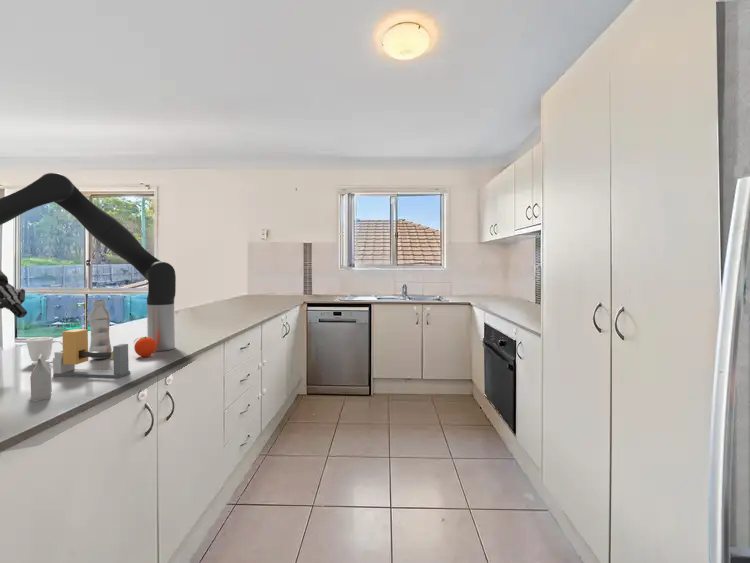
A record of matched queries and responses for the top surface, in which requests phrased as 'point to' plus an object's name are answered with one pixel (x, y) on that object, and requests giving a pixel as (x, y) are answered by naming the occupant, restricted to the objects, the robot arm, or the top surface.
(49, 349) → the cup
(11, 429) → the top surface
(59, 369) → the gray horizontal rod stand
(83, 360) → the sleeve
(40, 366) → the milk carton
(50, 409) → the top surface
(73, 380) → the top surface
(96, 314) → the plastic bottle
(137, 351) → the clementine
